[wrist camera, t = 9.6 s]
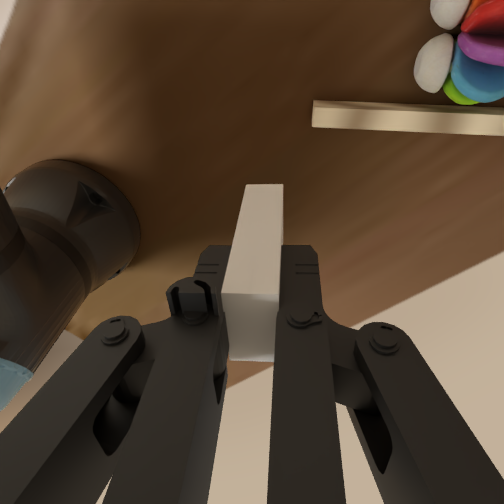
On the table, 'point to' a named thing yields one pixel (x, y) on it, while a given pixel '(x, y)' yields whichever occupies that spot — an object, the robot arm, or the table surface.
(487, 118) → the channel
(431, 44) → the rainbow disc toy
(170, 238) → the table surface
